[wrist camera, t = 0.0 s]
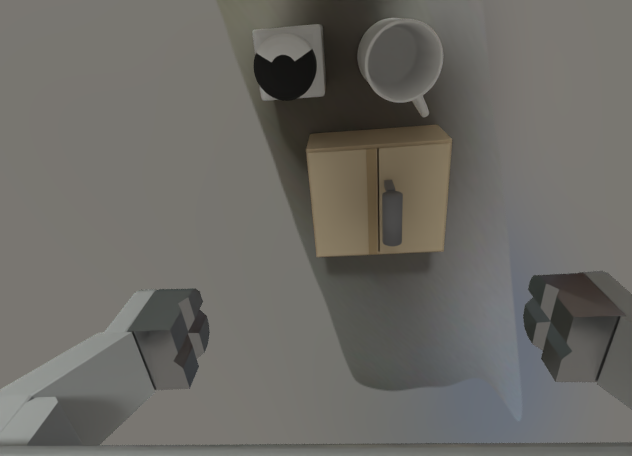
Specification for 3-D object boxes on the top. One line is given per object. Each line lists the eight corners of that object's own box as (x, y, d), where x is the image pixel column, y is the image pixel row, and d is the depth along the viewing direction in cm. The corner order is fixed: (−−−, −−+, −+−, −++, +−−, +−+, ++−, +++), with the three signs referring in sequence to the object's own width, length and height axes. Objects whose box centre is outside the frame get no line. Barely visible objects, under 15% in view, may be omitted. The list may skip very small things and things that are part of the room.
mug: (440, 93, 53) (466, 111, 42) (381, 121, 55) (392, 145, 44) (409, 4, 48) (429, -2, 37) (346, 38, 50) (348, 42, 39)
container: (326, 87, 53) (323, 104, 41) (270, 91, 54) (252, 110, 42) (322, 23, 49) (318, 23, 38) (262, 29, 50) (240, 30, 38)
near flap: (378, 147, 48) (383, 162, 43) (449, 143, 47) (463, 157, 42) (379, 252, 55) (383, 276, 50) (441, 249, 54) (452, 273, 49)
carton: (310, 133, 56) (305, 150, 48) (437, 124, 54) (453, 140, 47) (319, 231, 63) (316, 259, 56) (431, 225, 62) (444, 253, 54)
